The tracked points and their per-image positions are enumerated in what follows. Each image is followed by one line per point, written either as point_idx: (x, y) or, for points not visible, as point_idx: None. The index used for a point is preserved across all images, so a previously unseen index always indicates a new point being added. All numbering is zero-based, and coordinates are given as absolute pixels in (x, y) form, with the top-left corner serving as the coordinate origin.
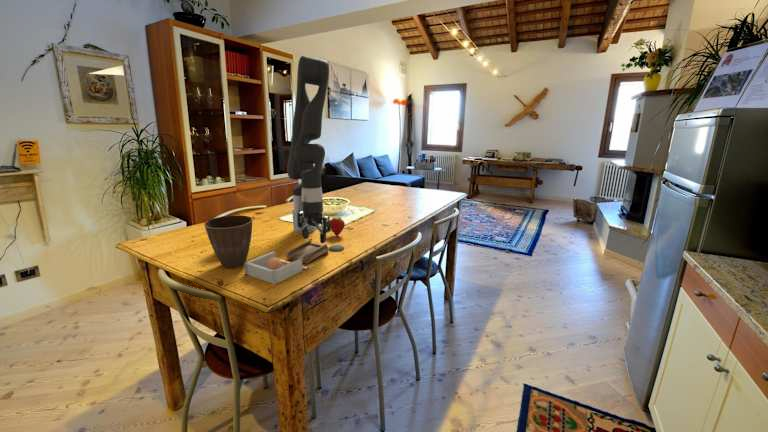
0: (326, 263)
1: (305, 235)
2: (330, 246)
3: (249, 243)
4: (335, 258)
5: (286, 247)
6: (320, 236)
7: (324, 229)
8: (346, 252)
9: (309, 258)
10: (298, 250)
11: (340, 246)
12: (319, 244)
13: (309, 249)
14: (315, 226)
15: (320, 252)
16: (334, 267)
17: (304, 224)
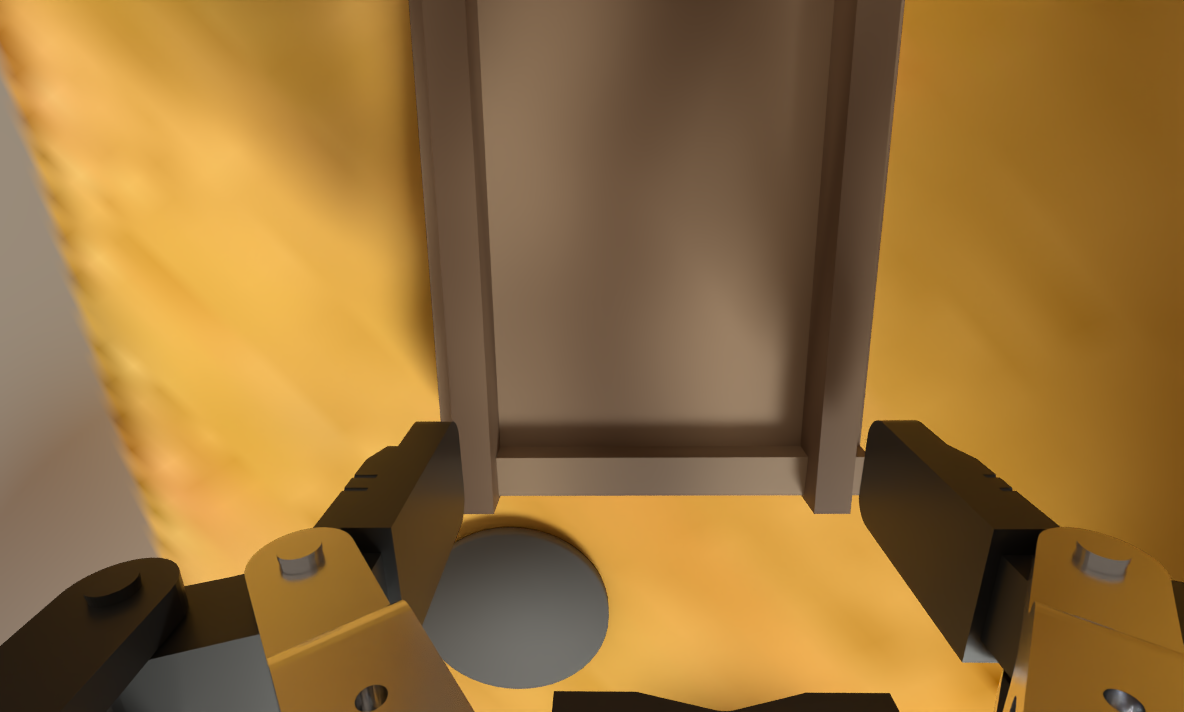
0: (250, 183)
1: (905, 478)
2: (606, 613)
3: None
4: (292, 377)
5: (1169, 320)
6: (395, 489)
7: (66, 650)
8: None
9: (417, 30)
10: (815, 182)
11: (502, 665)
12: (612, 487)
13: (662, 298)
14: (434, 666)
15: (434, 306)
16: (59, 136)
17: (1094, 660)
